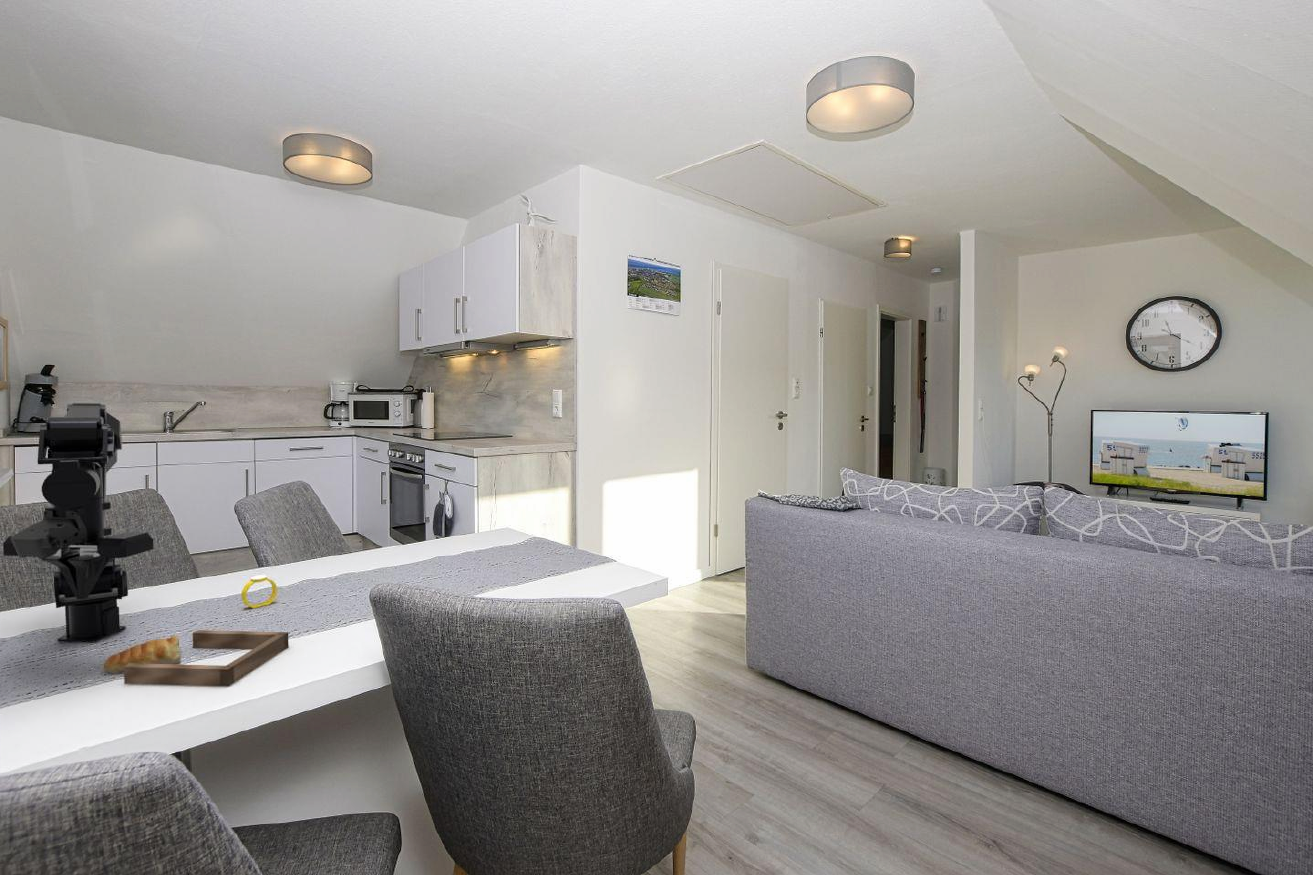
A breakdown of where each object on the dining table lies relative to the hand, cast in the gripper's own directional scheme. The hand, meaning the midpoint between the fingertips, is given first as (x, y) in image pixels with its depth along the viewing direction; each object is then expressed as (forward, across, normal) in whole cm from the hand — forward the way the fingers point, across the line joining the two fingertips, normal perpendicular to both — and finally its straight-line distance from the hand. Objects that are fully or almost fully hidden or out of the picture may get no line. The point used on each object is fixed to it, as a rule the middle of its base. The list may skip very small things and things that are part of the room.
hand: (82, 598), depth 98 cm
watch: (+10, +10, +27) cm, 31 cm away
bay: (+10, +20, 0) cm, 23 cm away
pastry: (+10, +11, 0) cm, 15 cm away
